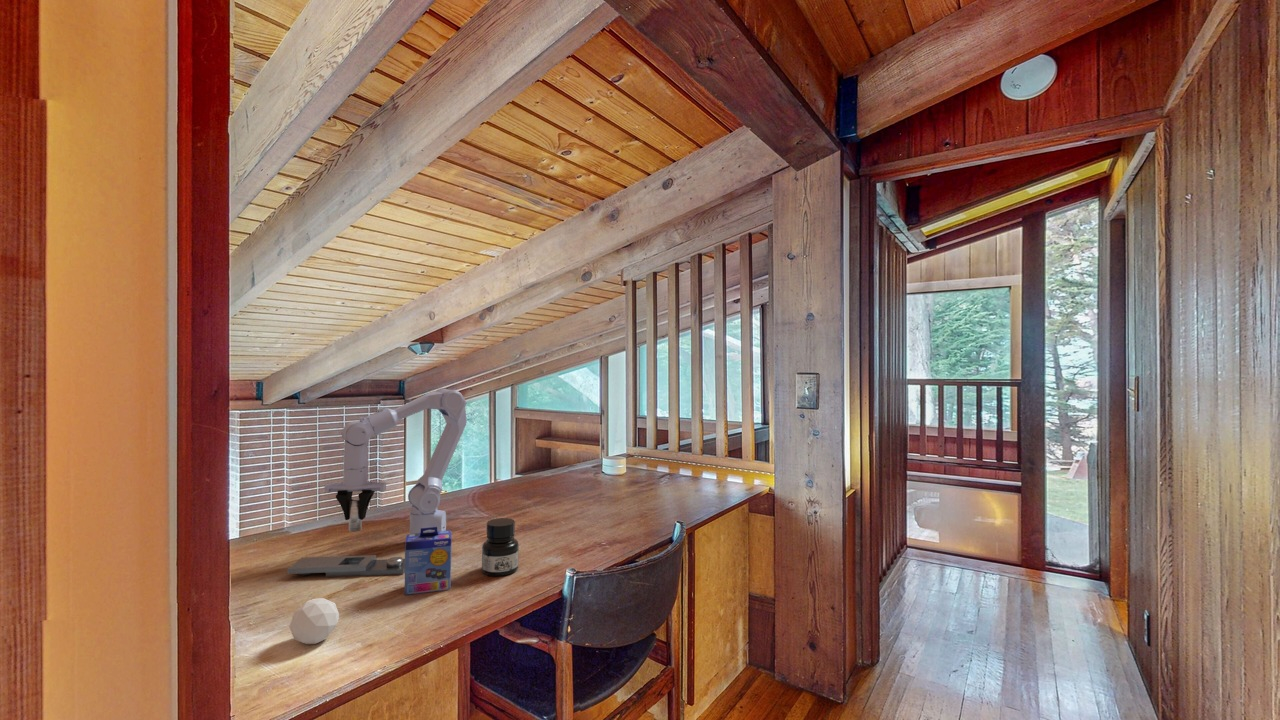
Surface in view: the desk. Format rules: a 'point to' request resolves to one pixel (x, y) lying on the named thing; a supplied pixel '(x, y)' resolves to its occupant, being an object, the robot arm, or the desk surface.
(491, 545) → the ink bottle
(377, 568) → the end link lower
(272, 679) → the desk surface
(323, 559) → the end link upper
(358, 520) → the steel pin
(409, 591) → the ink cartridge box
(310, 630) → the ball
